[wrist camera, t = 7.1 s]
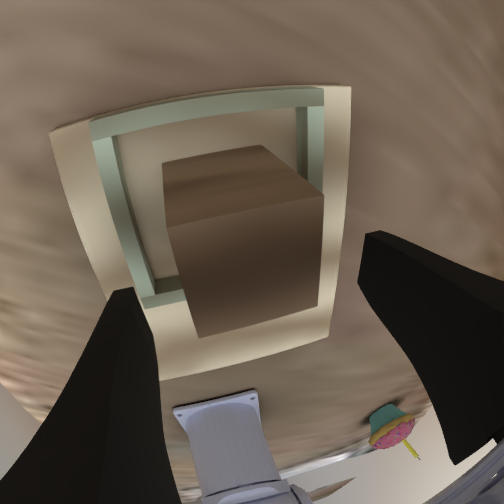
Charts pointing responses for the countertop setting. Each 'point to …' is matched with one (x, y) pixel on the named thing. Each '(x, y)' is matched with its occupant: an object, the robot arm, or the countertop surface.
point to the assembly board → (153, 210)
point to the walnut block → (243, 237)
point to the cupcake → (391, 428)
